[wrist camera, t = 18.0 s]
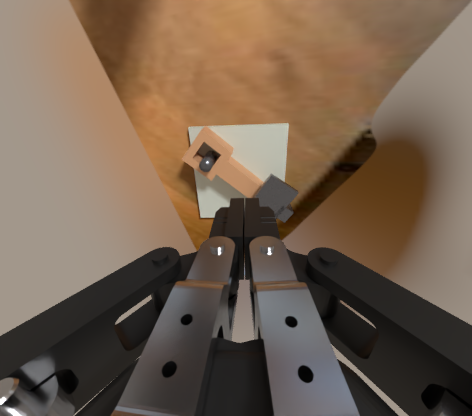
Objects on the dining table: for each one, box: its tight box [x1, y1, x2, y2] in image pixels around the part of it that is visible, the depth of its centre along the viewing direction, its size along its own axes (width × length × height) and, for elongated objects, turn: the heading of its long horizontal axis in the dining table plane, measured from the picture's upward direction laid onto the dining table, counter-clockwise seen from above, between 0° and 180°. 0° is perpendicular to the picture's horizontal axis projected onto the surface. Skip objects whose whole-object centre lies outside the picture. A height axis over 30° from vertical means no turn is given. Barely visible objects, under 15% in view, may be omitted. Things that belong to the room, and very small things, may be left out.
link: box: [182, 126, 264, 198], centre depth 37 cm, size 15×6×4 cm, turn 52°
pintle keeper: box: [199, 151, 298, 222], centre depth 39 cm, size 13×16×7 cm
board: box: [188, 123, 289, 218], centre depth 40 cm, size 18×17×1 cm
